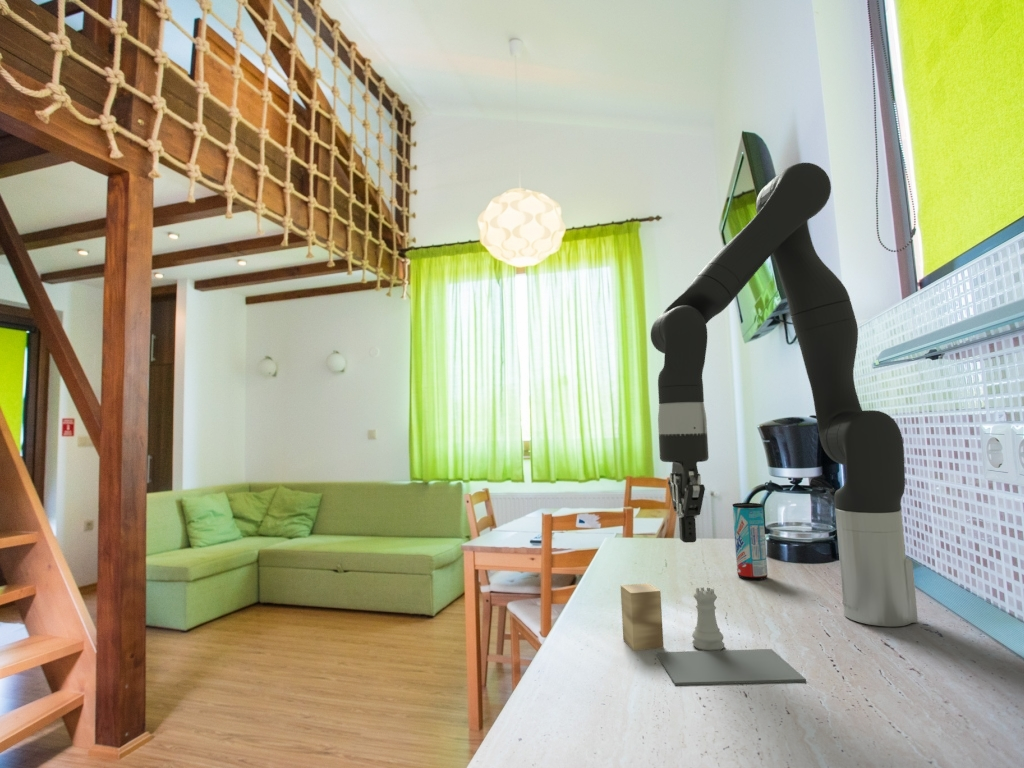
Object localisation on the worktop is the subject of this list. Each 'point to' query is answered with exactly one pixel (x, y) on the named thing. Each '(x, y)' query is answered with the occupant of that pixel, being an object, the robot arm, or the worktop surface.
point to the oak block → (642, 616)
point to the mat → (727, 667)
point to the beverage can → (750, 541)
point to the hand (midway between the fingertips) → (688, 541)
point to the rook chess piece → (706, 622)
